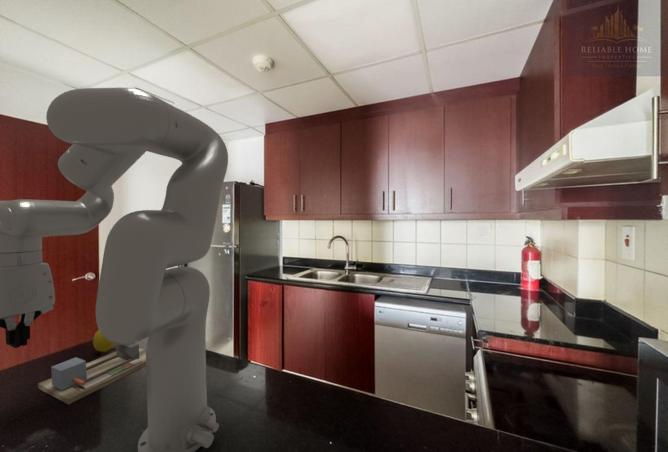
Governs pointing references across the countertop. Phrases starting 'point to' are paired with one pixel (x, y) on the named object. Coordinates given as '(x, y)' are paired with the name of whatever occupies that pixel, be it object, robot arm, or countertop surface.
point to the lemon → (101, 342)
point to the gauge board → (101, 373)
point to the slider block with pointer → (69, 373)
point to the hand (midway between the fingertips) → (18, 345)
